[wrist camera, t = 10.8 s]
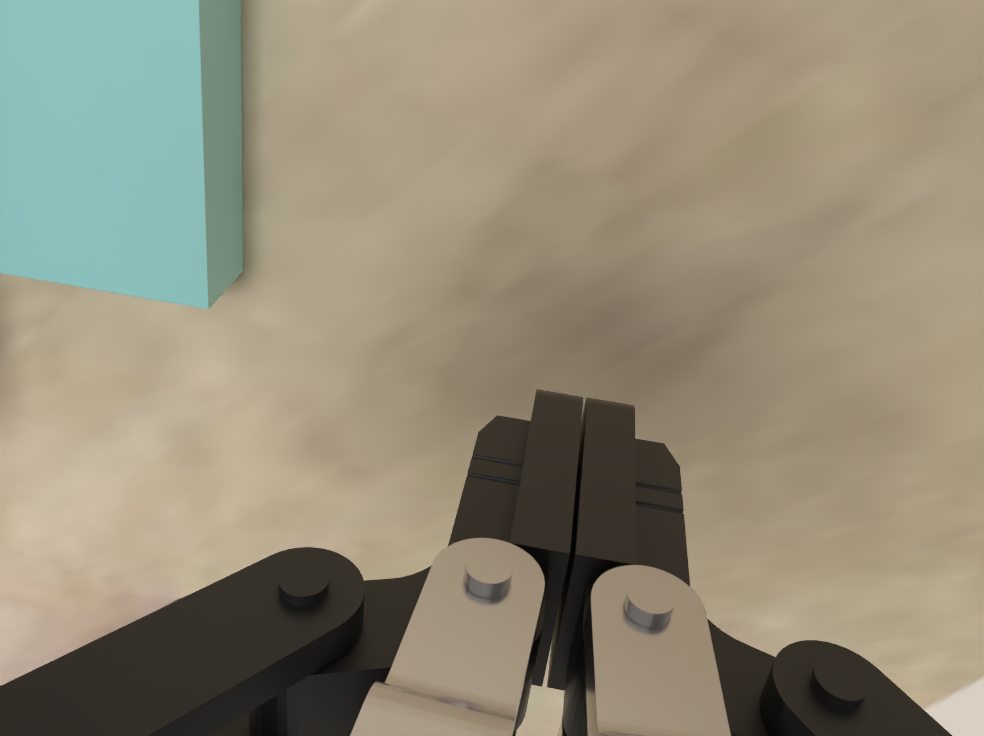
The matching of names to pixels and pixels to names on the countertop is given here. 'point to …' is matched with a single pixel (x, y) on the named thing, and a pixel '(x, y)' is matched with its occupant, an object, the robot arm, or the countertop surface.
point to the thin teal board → (122, 145)
